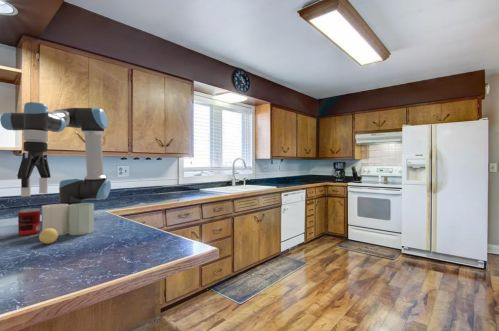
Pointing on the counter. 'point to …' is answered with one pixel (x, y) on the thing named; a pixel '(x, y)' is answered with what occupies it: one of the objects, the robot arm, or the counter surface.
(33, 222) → the canned food
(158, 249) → the counter surface
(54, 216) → the crock cream
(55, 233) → the ball loose
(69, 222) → the crock sage
